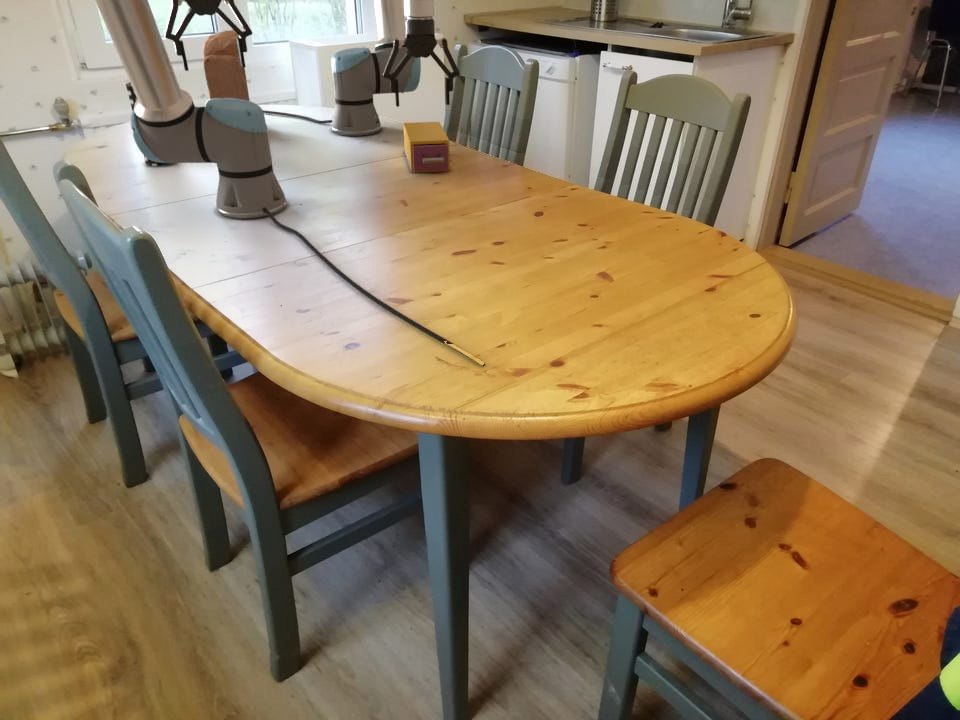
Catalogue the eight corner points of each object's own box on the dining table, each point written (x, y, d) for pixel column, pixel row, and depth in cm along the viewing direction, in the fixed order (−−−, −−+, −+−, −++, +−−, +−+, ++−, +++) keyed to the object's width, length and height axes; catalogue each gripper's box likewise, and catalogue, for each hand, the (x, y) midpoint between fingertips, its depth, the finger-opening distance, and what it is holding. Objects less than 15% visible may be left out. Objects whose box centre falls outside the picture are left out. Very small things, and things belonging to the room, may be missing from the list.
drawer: (451, 176, 176) (451, 151, 173) (416, 177, 175) (415, 153, 171) (439, 150, 196) (438, 127, 192) (407, 151, 194) (406, 129, 191)
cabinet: (449, 170, 183) (449, 139, 178) (411, 172, 181) (410, 141, 177) (439, 150, 199) (439, 121, 194) (404, 152, 197) (403, 122, 193)
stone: (257, 139, 205) (240, 35, 190) (217, 142, 202) (197, 37, 187) (254, 125, 222) (238, 28, 208) (217, 127, 219) (198, 30, 205)
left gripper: (249, -31, 169) (263, 62, 180) (139, -30, 160) (160, 68, 171) (254, -29, 163) (268, 67, 174) (140, -28, 154) (162, 73, 165)
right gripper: (465, 15, 181) (465, 100, 192) (369, 16, 177) (375, 103, 188) (470, 18, 174) (470, 106, 186) (371, 20, 170) (377, 109, 182)
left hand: (215, 68), depth 173 cm, fingers open, 13 cm apart
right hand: (422, 104), depth 187 cm, fingers open, 13 cm apart
